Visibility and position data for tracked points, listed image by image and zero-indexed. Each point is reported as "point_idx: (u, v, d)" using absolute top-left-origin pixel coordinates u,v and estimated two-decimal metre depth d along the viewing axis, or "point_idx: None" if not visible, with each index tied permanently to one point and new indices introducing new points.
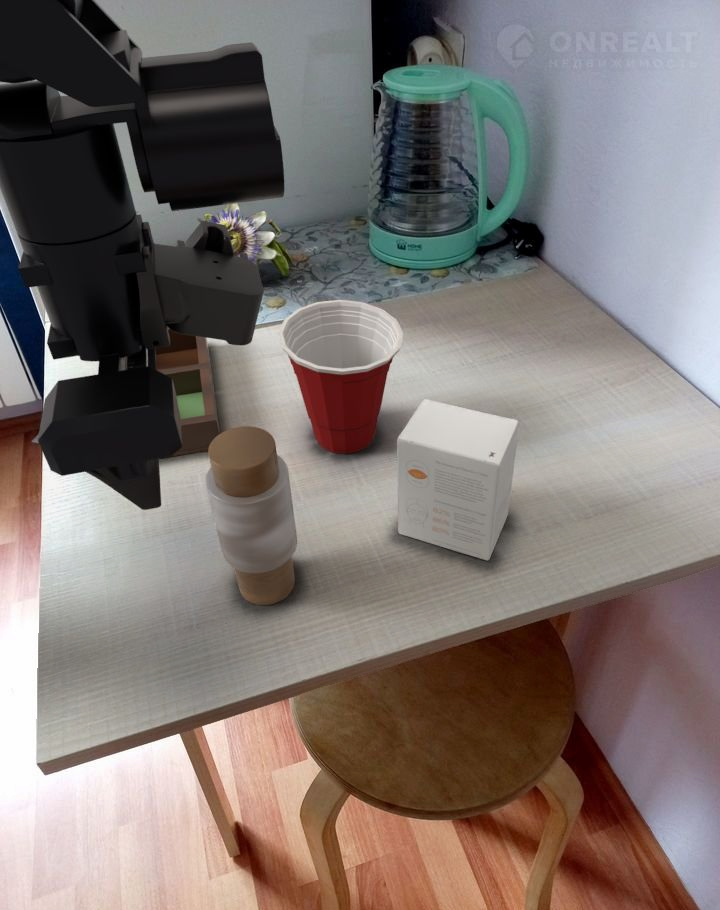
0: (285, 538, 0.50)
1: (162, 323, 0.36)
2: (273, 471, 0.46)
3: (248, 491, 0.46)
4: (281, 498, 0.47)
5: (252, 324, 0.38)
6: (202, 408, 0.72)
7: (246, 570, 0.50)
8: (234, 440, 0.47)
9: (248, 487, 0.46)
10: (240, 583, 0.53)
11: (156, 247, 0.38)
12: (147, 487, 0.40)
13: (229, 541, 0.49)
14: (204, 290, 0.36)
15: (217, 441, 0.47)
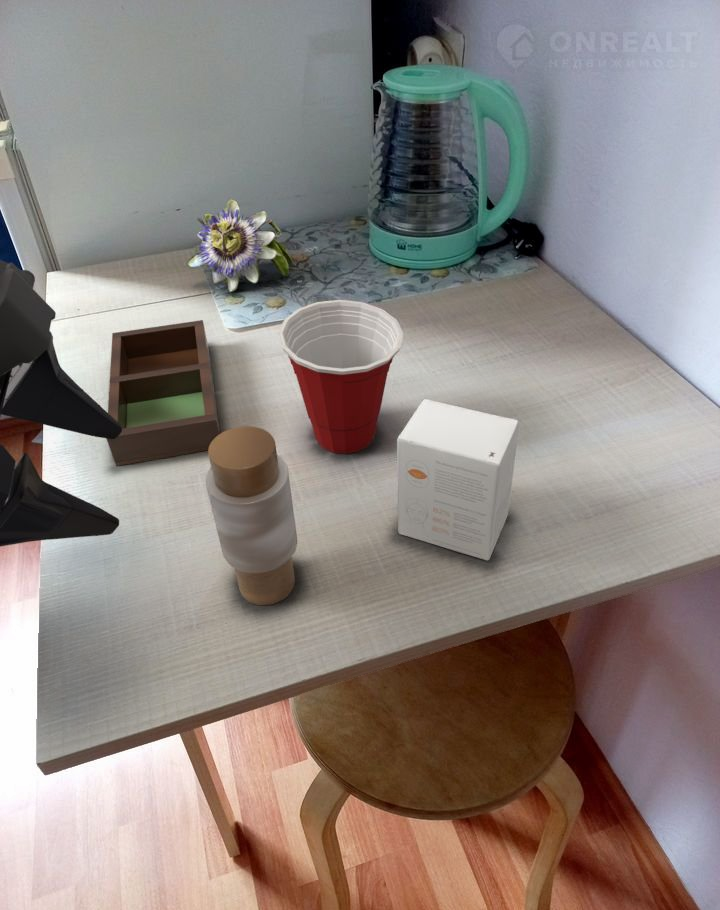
0: (285, 538, 0.50)
1: None
2: (273, 471, 0.46)
3: (248, 491, 0.46)
4: (281, 498, 0.47)
5: (27, 333, 0.36)
6: (202, 408, 0.72)
7: (246, 570, 0.50)
8: (234, 440, 0.47)
9: (248, 487, 0.46)
10: (240, 583, 0.53)
11: None
12: (80, 521, 0.40)
13: (229, 541, 0.49)
14: None
15: (217, 441, 0.47)
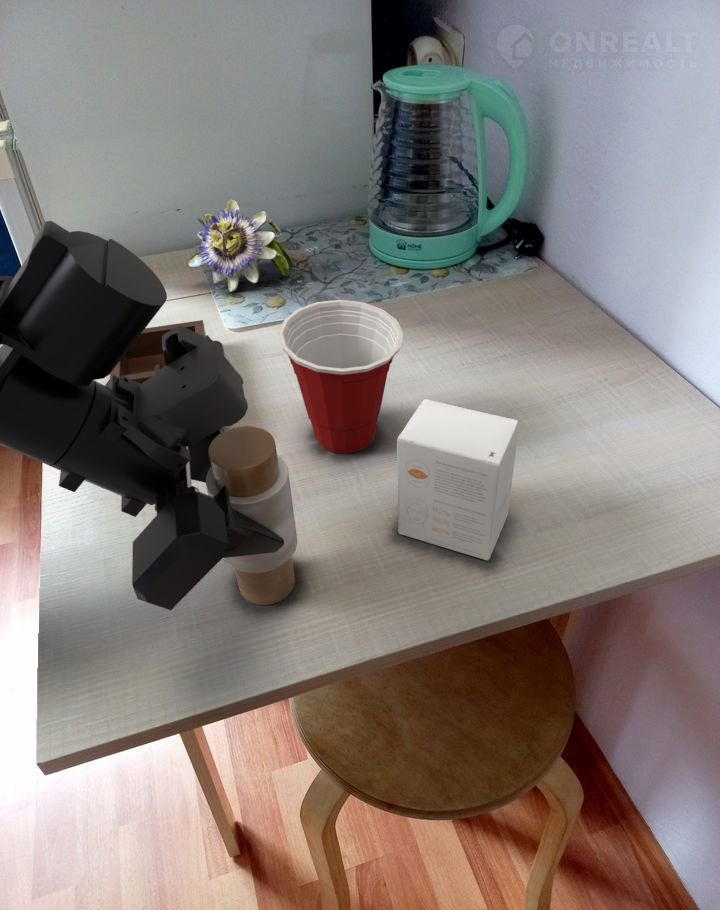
0: (285, 538, 0.50)
1: (169, 451, 0.42)
2: (273, 471, 0.46)
3: (248, 491, 0.46)
4: (281, 498, 0.47)
5: (233, 401, 0.41)
6: None
7: (246, 570, 0.50)
8: (234, 440, 0.47)
9: (248, 487, 0.46)
10: (240, 583, 0.53)
11: (139, 389, 0.43)
12: (257, 541, 0.47)
13: None
14: (174, 409, 0.40)
15: (217, 441, 0.47)
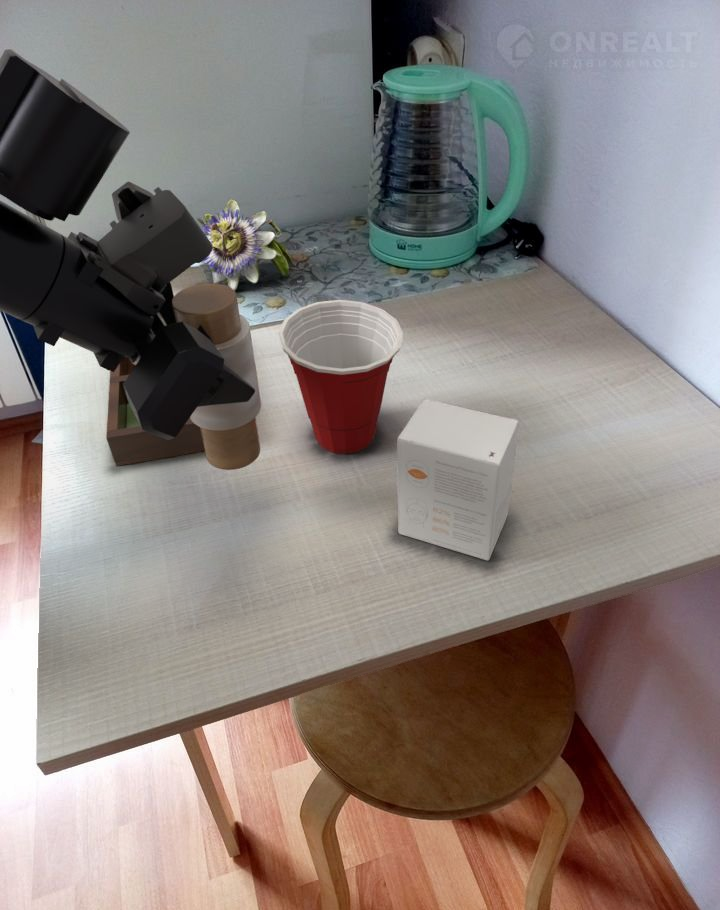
0: None
1: (146, 291, 0.43)
2: (237, 317, 0.49)
3: (218, 338, 0.48)
4: (247, 345, 0.50)
5: (200, 235, 0.44)
6: None
7: (220, 427, 0.52)
8: (194, 294, 0.49)
9: (218, 333, 0.48)
10: (211, 450, 0.55)
11: (100, 243, 0.45)
12: (233, 386, 0.49)
13: None
14: (148, 245, 0.42)
15: (178, 297, 0.49)
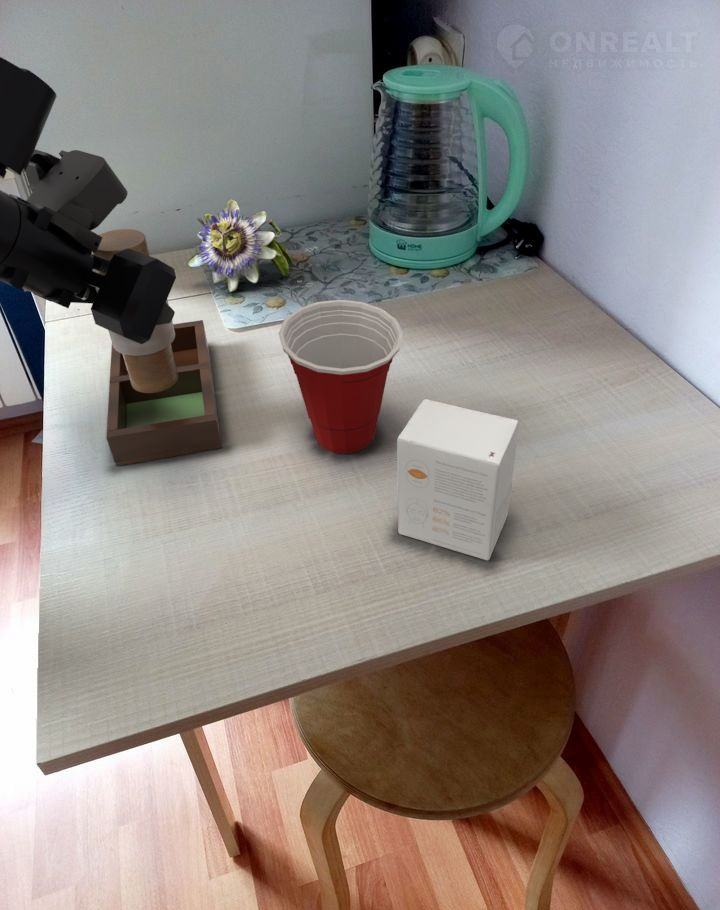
0: None
1: (87, 230, 0.52)
2: None
3: None
4: None
5: (118, 180, 0.54)
6: (202, 408, 0.72)
7: (151, 351, 0.62)
8: (108, 239, 0.58)
9: None
10: (141, 377, 0.64)
11: (30, 201, 0.53)
12: None
13: None
14: (83, 191, 0.51)
15: None
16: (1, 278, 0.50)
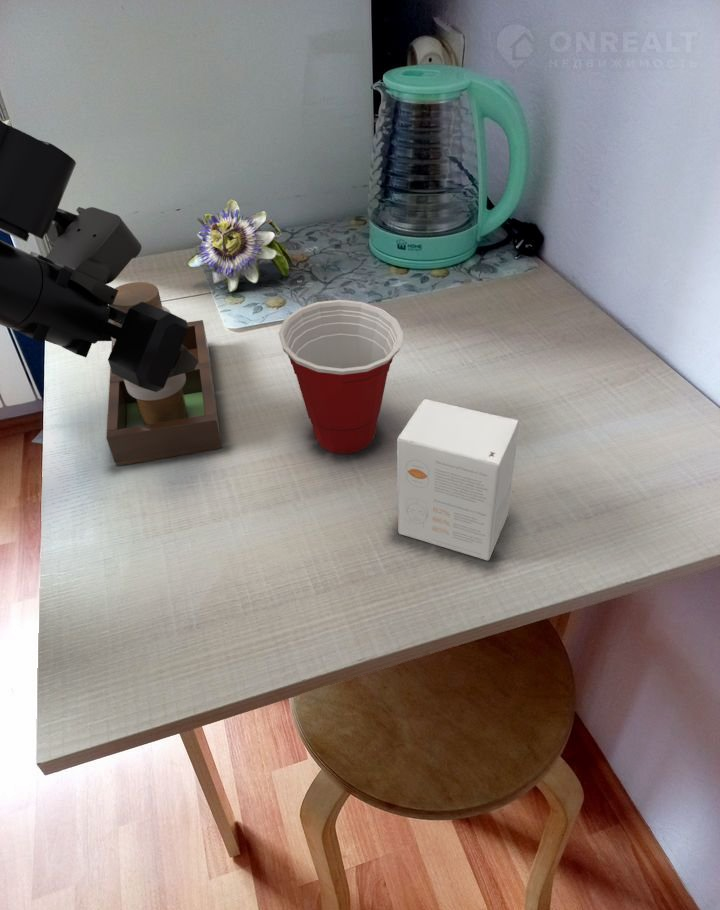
0: None
1: (104, 285, 0.55)
2: (161, 304, 0.63)
3: None
4: None
5: (133, 236, 0.57)
6: (202, 408, 0.72)
7: (163, 396, 0.65)
8: (123, 293, 0.61)
9: None
10: (154, 419, 0.68)
11: (49, 257, 0.55)
12: (186, 358, 0.62)
13: None
14: (100, 249, 0.54)
15: None
16: (24, 333, 0.53)
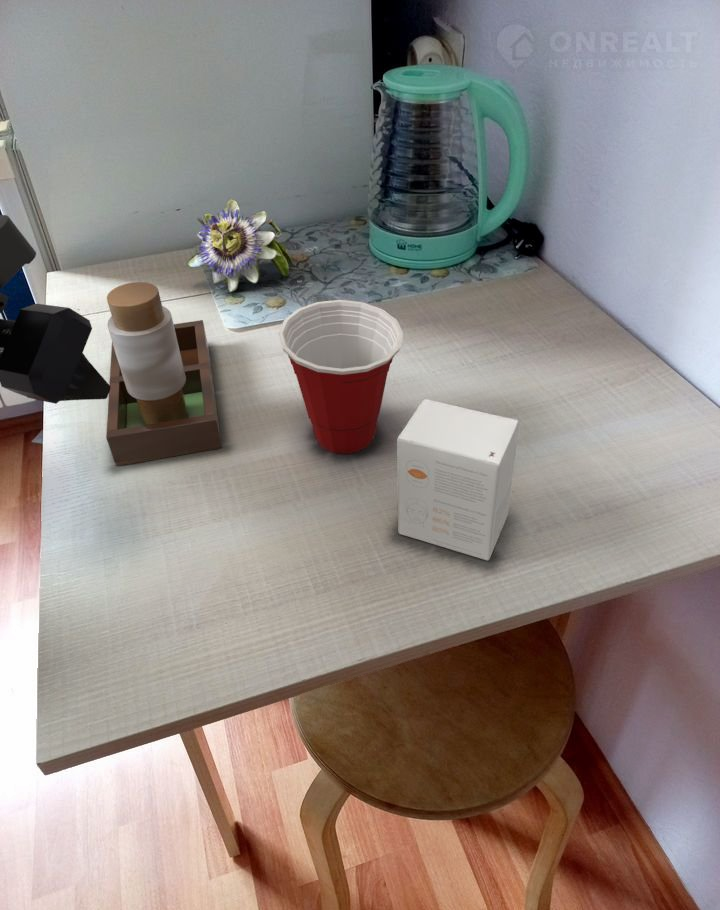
0: (181, 360, 0.66)
1: None
2: (161, 304, 0.63)
3: (153, 321, 0.62)
4: (173, 324, 0.64)
5: (25, 239, 0.50)
6: (202, 408, 0.72)
7: (163, 396, 0.65)
8: (123, 293, 0.61)
9: (153, 317, 0.61)
10: (154, 419, 0.68)
11: None
12: (94, 380, 0.54)
13: (147, 373, 0.64)
14: None
15: (111, 297, 0.61)
16: None
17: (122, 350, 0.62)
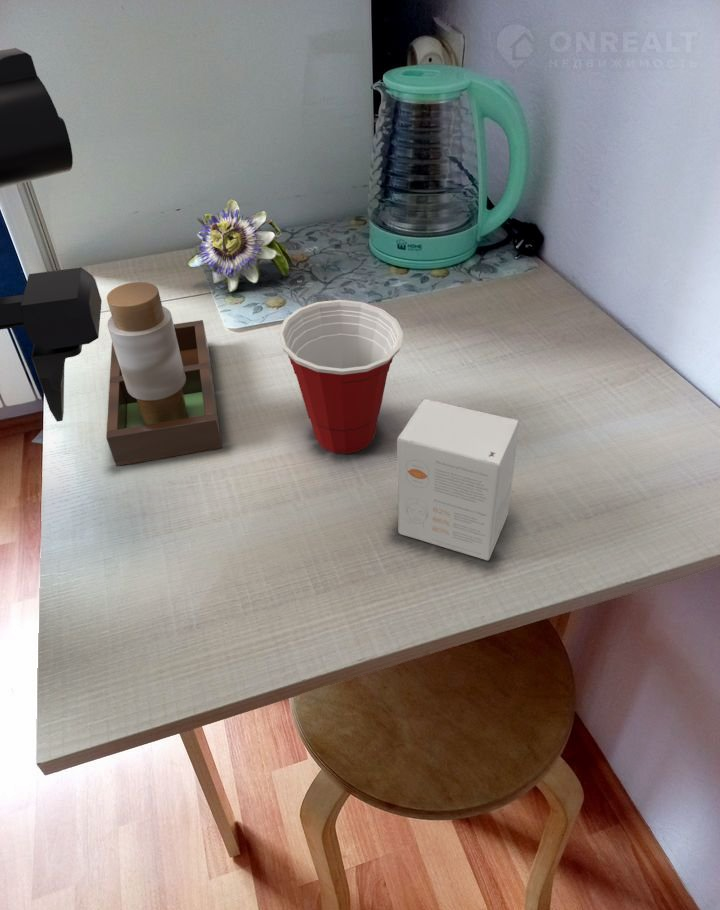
0: (181, 360, 0.66)
1: None
2: (161, 304, 0.63)
3: (153, 321, 0.62)
4: (173, 324, 0.64)
5: None
6: (202, 408, 0.72)
7: (163, 396, 0.65)
8: (123, 293, 0.61)
9: (153, 317, 0.61)
10: (154, 419, 0.68)
11: None
12: (63, 387, 0.50)
13: (147, 373, 0.64)
14: None
15: (111, 297, 0.61)
16: None
17: (122, 350, 0.62)
